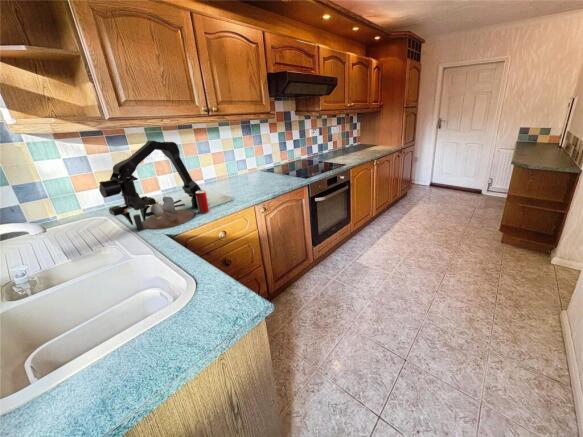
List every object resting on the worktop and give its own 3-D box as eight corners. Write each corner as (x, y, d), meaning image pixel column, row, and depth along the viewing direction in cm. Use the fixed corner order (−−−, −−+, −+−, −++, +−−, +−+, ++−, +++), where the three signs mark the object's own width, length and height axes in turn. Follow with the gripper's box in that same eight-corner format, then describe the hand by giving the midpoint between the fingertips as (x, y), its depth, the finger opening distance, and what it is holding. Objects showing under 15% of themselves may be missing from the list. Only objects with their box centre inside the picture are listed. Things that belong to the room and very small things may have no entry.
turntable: (177, 207, 153) (175, 195, 150) (203, 215, 139) (201, 202, 136) (125, 225, 132) (121, 211, 129) (150, 236, 117) (145, 221, 115)
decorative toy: (180, 203, 147) (141, 212, 135) (179, 189, 140) (138, 197, 129) (188, 216, 141) (147, 226, 130) (187, 202, 134) (145, 211, 123)
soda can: (211, 211, 144) (207, 190, 139) (202, 214, 140) (198, 193, 136) (205, 209, 147) (202, 189, 143) (197, 212, 144) (192, 191, 139)
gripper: (114, 199, 107) (125, 233, 113) (157, 188, 121) (165, 219, 127) (103, 196, 113) (114, 228, 119) (146, 185, 127) (154, 215, 133)
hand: (138, 222), depth 124 cm, fingers open, 5 cm apart
